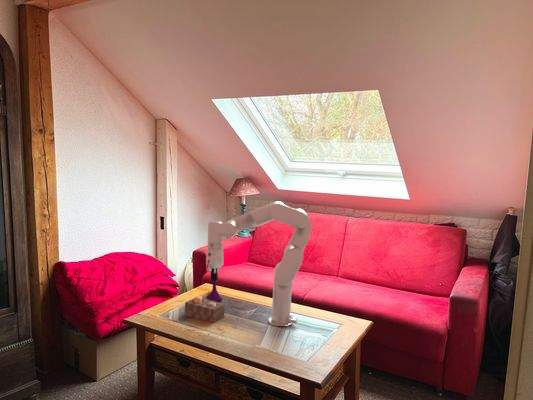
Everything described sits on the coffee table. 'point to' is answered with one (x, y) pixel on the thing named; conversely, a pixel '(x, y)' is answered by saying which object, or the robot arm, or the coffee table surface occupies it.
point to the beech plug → (212, 304)
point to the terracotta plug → (198, 299)
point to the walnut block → (204, 310)
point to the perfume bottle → (214, 293)
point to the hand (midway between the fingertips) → (214, 280)
